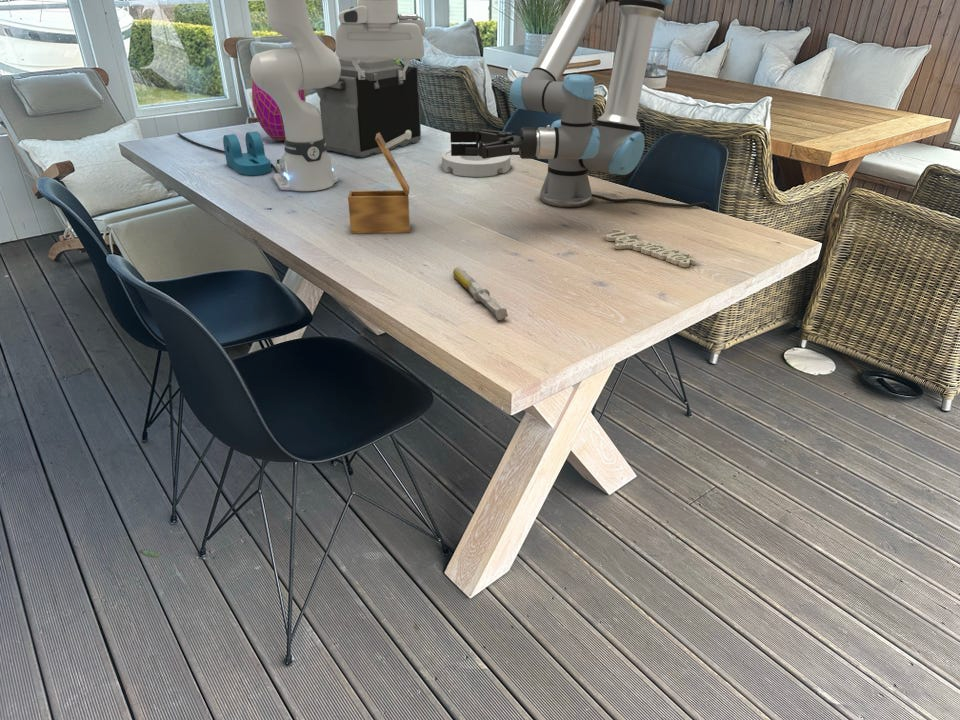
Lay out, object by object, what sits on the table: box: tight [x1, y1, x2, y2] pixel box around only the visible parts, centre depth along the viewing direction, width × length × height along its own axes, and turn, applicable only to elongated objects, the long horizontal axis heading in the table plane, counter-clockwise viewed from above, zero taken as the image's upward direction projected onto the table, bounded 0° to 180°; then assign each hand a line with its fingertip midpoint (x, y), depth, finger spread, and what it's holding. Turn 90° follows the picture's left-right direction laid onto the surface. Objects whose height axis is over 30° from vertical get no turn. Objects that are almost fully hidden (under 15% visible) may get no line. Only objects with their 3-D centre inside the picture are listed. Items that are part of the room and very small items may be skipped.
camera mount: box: [222, 131, 272, 176], centre depth 226 cm, size 18×10×10 cm, turn 35°
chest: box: [347, 189, 411, 234], centre depth 178 cm, size 15×5×10 cm, turn 94°
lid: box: [375, 130, 412, 195], centre depth 171 cm, size 16×5×8 cm
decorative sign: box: [605, 228, 696, 268], centre depth 169 cm, size 26×1×10 cm
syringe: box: [452, 266, 509, 321], centre depth 145 cm, size 25×4×3 cm, turn 21°
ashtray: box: [441, 149, 511, 178], centre depth 232 cm, size 23×23×4 cm
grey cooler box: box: [314, 58, 422, 159], centre depth 250 cm, size 37×22×30 cm, turn 144°
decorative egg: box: [251, 78, 307, 142], centre depth 257 cm, size 19×19×30 cm
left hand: (382, 79), depth 161 cm, fingers open, 8 cm apart
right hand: (450, 143), depth 170 cm, fingers open, 13 cm apart
